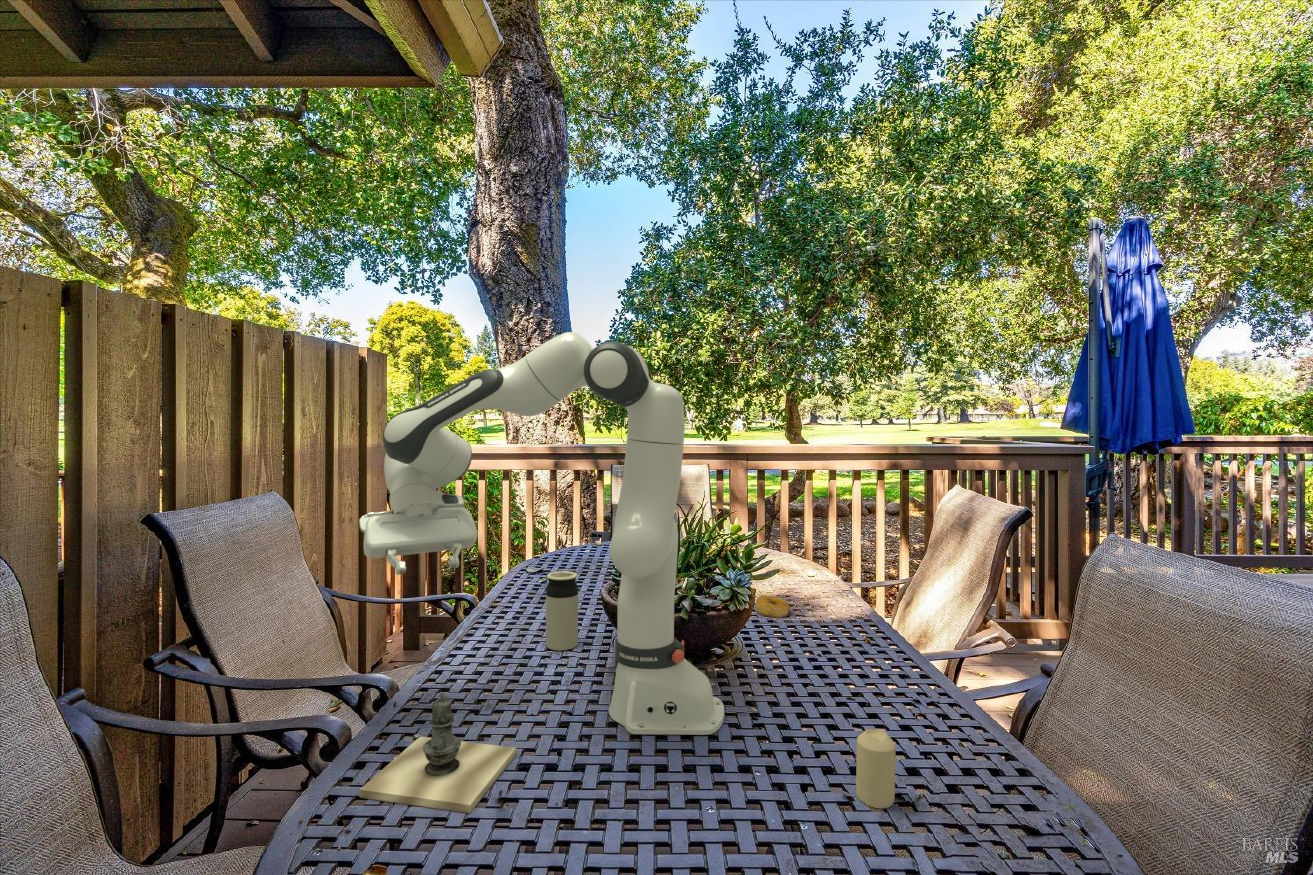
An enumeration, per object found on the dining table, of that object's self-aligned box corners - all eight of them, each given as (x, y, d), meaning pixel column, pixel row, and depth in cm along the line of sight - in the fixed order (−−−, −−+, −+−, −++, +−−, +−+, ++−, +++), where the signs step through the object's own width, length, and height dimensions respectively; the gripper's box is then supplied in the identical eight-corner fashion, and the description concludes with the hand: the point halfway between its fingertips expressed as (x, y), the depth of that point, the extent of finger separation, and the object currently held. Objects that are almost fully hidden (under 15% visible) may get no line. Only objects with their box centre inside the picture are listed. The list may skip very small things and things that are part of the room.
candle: (876, 813, 90) (877, 745, 90) (848, 792, 95) (849, 728, 95) (902, 802, 93) (903, 736, 93) (874, 783, 98) (875, 720, 97)
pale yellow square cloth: (516, 754, 105) (516, 747, 105) (470, 812, 90) (469, 804, 90) (420, 743, 109) (420, 736, 109) (359, 797, 93) (359, 789, 93)
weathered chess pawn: (458, 775, 97) (458, 699, 97) (419, 778, 96) (418, 702, 96) (463, 755, 103) (463, 683, 103) (426, 758, 102) (426, 686, 102)
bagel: (766, 620, 177) (766, 604, 177) (749, 609, 188) (749, 593, 188) (797, 617, 180) (797, 601, 180) (779, 606, 191) (779, 591, 191)
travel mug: (575, 651, 152) (575, 578, 152) (543, 651, 153) (543, 578, 152) (580, 640, 160) (580, 570, 160) (549, 639, 160) (549, 570, 160)
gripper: (359, 503, 114) (368, 566, 106) (470, 496, 125) (486, 553, 117) (355, 523, 118) (364, 586, 110) (464, 515, 129) (479, 571, 121)
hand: (428, 569), depth 114 cm, fingers open, 8 cm apart
